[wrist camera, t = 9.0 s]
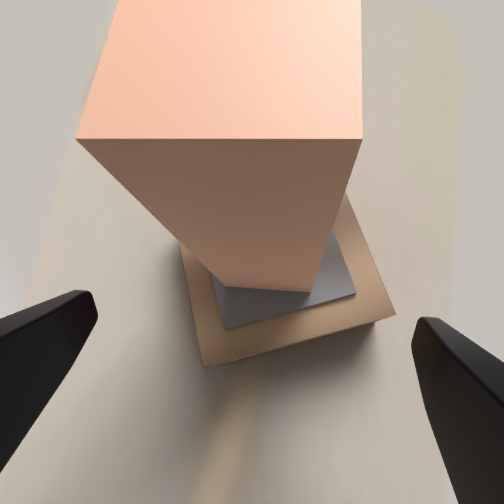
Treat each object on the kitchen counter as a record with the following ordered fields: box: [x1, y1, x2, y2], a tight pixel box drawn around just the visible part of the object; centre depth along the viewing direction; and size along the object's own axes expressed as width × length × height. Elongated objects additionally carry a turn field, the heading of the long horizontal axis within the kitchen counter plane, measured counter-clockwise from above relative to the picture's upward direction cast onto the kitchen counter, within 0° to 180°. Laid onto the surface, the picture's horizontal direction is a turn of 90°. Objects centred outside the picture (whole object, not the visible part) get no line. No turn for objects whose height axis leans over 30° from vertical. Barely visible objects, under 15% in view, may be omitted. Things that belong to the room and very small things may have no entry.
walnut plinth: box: [179, 192, 396, 368], centre depth 19 cm, size 10×10×4 cm
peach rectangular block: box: [75, 0, 363, 292], centre depth 11 cm, size 4×4×12 cm
